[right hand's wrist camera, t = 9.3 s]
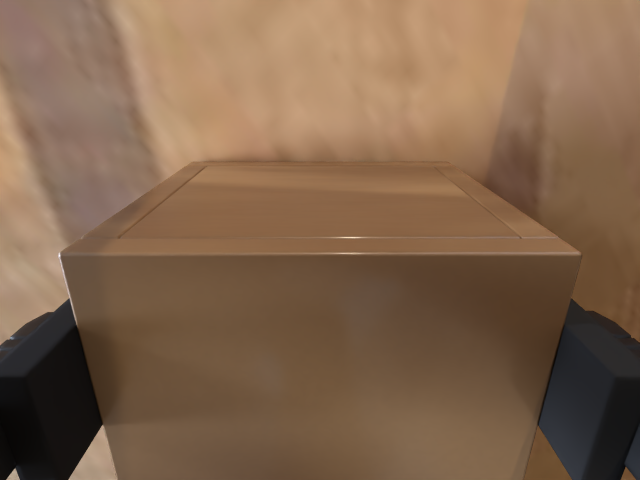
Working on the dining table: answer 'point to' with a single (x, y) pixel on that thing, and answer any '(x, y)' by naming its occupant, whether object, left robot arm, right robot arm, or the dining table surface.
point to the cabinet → (320, 324)
